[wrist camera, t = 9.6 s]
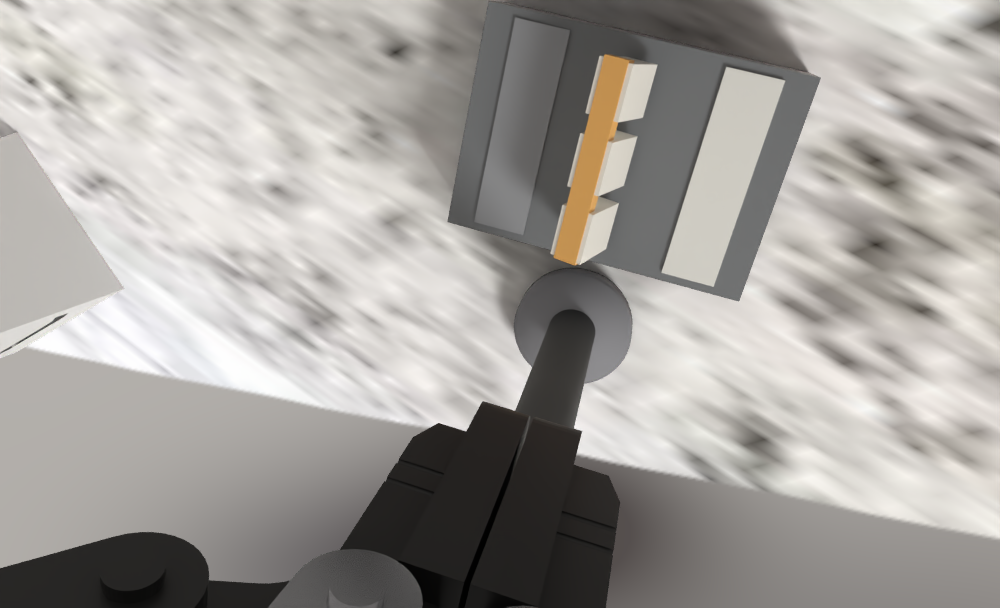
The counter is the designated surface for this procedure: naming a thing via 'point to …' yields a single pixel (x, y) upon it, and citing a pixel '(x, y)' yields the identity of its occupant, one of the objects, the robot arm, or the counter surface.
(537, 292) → the stand
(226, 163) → the counter surface
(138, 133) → the counter surface
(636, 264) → the breaker panel
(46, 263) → the grater
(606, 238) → the breaker paddles
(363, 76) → the counter surface
